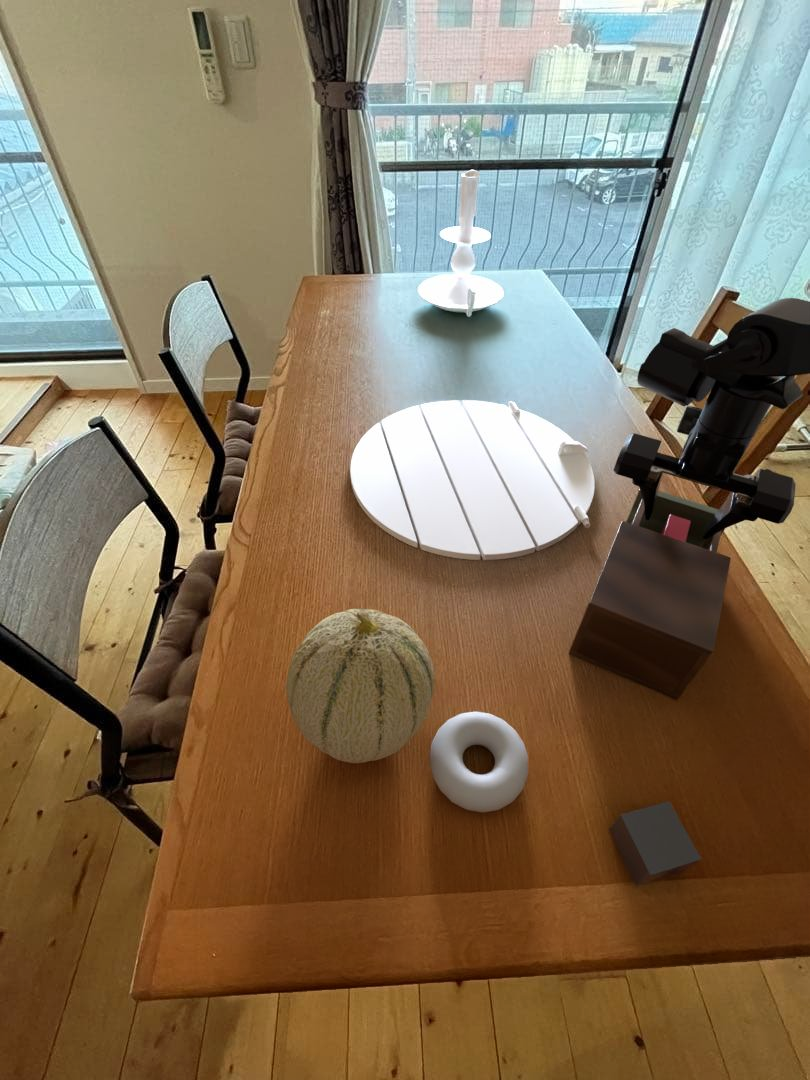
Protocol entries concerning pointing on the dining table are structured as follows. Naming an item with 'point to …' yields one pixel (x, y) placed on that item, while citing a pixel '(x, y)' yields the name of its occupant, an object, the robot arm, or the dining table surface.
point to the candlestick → (463, 261)
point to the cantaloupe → (360, 685)
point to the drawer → (680, 508)
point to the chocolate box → (676, 528)
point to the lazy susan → (472, 479)
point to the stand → (653, 843)
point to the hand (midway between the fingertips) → (675, 527)
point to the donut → (467, 785)
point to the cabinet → (653, 610)
